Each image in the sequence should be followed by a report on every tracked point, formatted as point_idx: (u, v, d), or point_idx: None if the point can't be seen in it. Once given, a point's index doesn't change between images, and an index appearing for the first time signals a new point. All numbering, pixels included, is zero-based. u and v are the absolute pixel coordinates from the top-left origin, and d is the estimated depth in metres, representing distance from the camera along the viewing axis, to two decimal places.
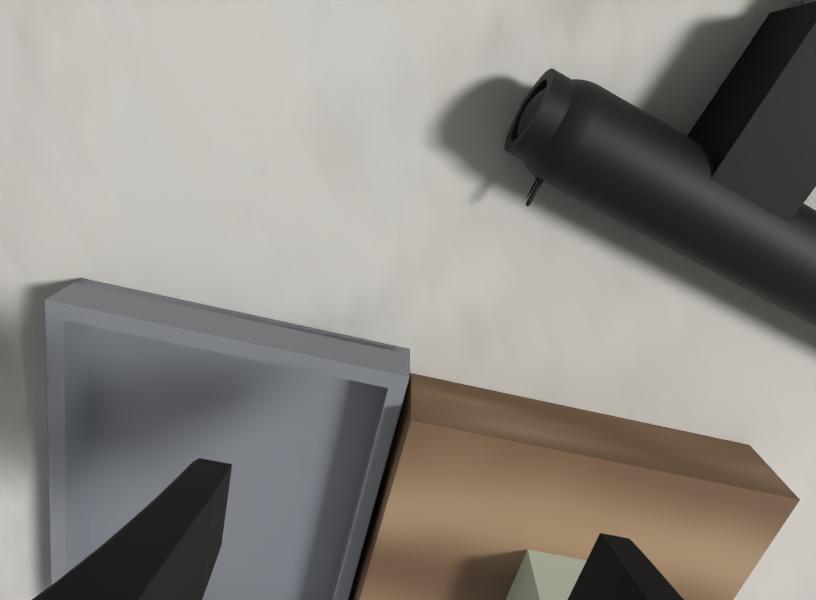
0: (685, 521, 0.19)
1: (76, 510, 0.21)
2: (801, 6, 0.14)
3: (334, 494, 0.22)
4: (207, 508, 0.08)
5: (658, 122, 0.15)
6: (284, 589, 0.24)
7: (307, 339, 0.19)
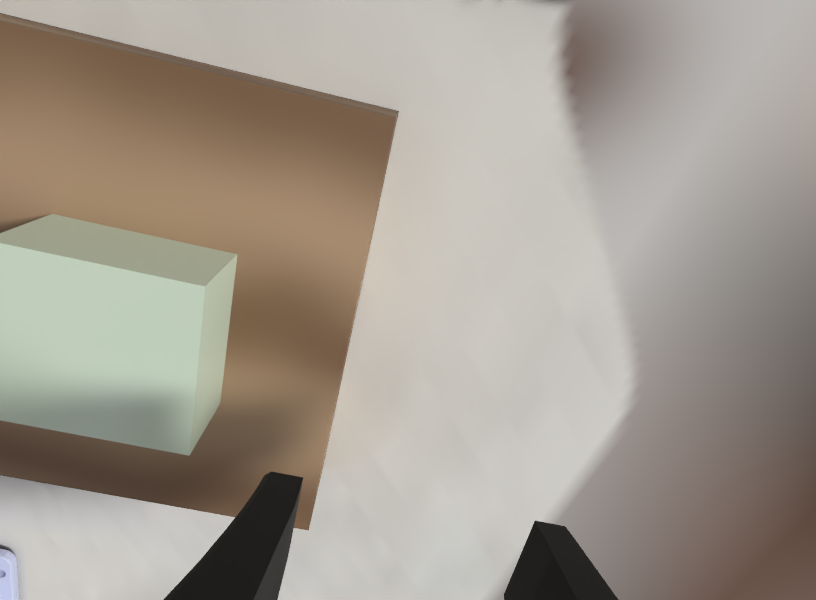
0: (250, 159, 0.14)
1: None
2: None
3: None
4: (289, 523, 0.09)
5: None
6: None
7: None
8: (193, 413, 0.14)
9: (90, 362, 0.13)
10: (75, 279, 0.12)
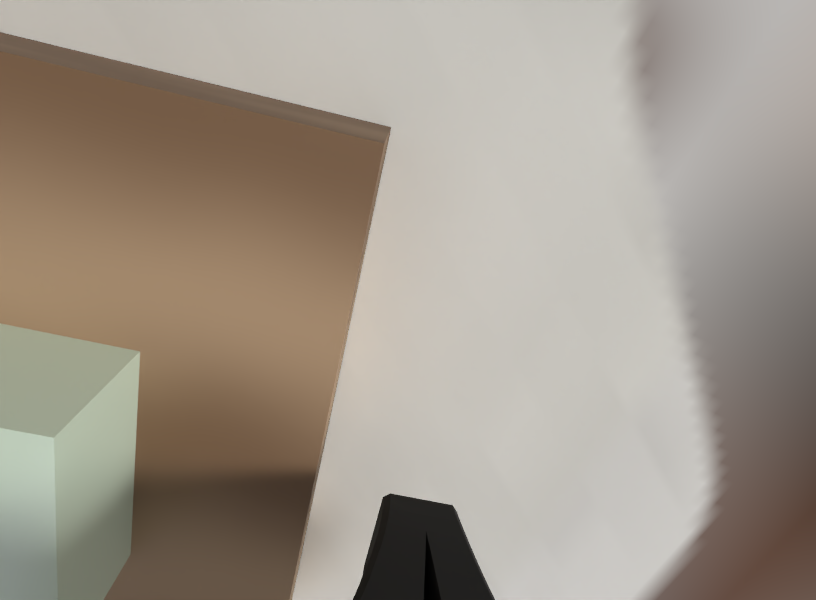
0: (150, 209, 0.09)
1: None
2: None
3: None
4: None
5: None
6: None
7: None
8: None
9: None
10: None
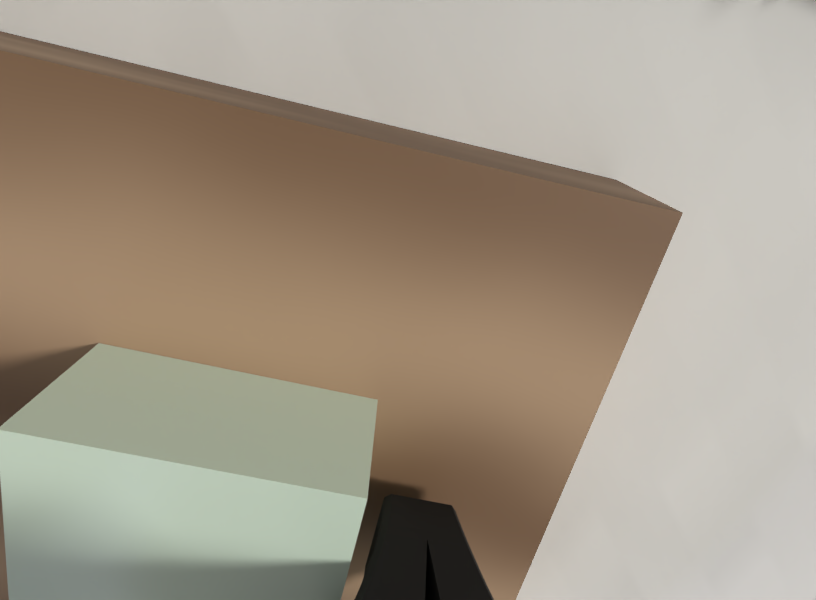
0: (441, 274, 0.09)
1: None
2: None
3: None
4: None
5: None
6: None
7: None
8: None
9: (166, 599, 0.08)
10: (150, 487, 0.07)
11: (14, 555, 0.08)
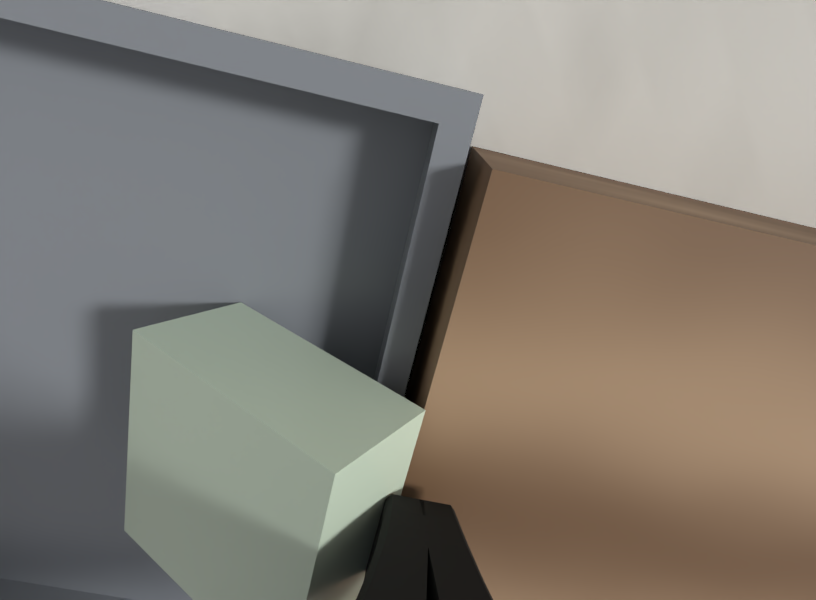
0: None
1: None
2: None
3: None
4: None
5: None
6: None
7: None
8: None
9: (202, 511, 0.10)
10: (200, 404, 0.09)
11: (132, 433, 0.11)
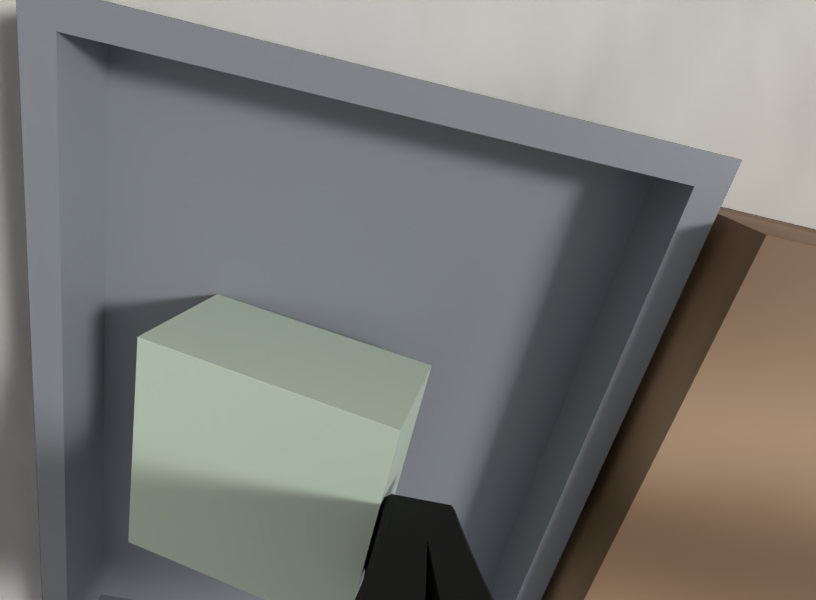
0: None
1: (83, 452, 0.12)
2: None
3: (517, 425, 0.13)
4: None
5: None
6: None
7: None
8: (358, 584, 0.10)
9: (240, 498, 0.10)
10: (236, 397, 0.09)
11: (139, 441, 0.10)
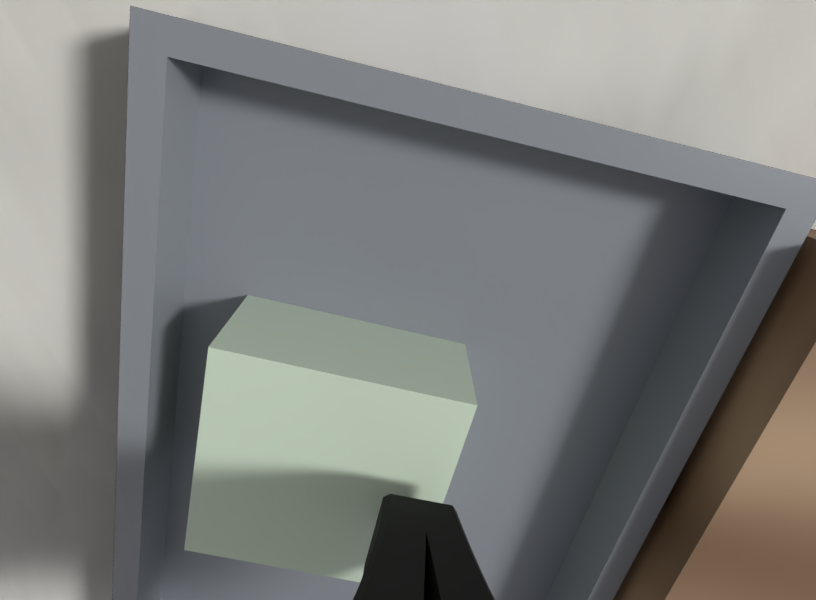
0: None
1: (157, 465, 0.13)
2: None
3: (583, 438, 0.13)
4: None
5: None
6: None
7: None
8: None
9: (313, 488, 0.11)
10: (315, 395, 0.10)
11: (203, 449, 0.10)
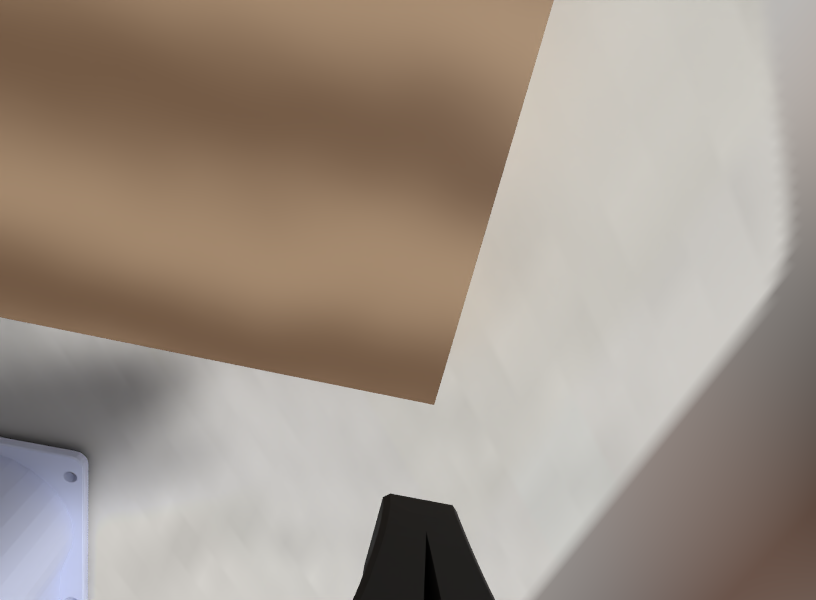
0: None
1: None
2: None
3: None
4: None
5: None
6: None
7: None
8: None
9: None
10: None
11: None
